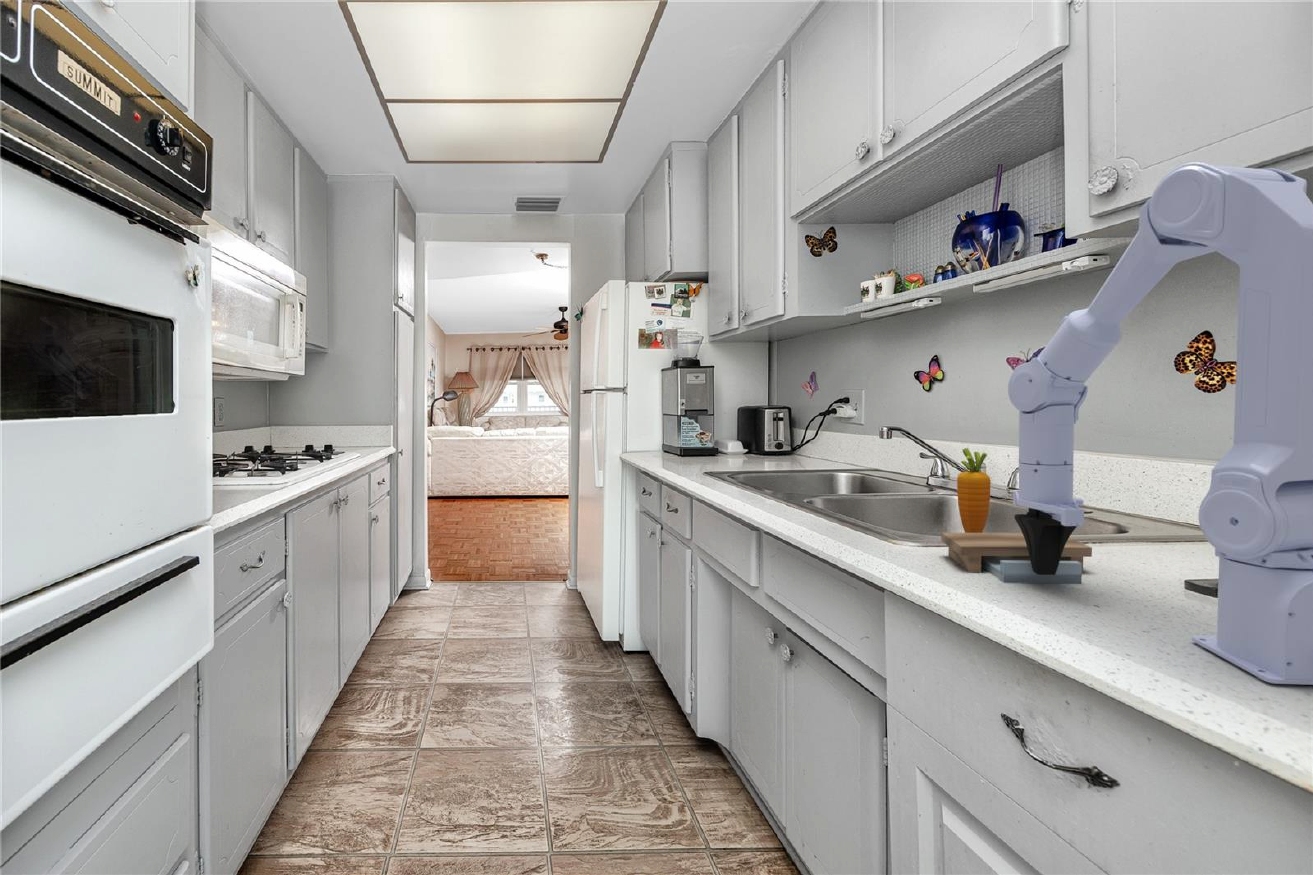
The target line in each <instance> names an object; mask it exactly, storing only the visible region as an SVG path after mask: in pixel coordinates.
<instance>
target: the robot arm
mask: <svg viewBox="0 0 1313 875" xmlns="http://www.w3.org/2000/svg"><path fill="white" fill-rule="evenodd" d="M1307 185H1308V182H1307V180H1306V179H1305V178H1302V177H1299V176H1297V175H1294V174H1292V173H1289V172H1287V171H1284V170H1281V169H1277V168H1273V167H1262V168H1252V167H1242V166H1241V167H1240V166H1225V165H1216V164H1215V165H1213V164H1211V163H1206V162H1198V161H1197V162H1189V163H1185V164H1181V165H1179V166H1178V167H1176V168H1173V169H1172V170H1171V171H1169V172H1168V173H1167V174H1166V175H1165V176H1164V177H1162V179H1161V180H1160V181H1159V182H1158V184H1157V185H1156V187H1155V189H1154V191H1153V192H1152V195H1151V197H1150V198H1149V199H1148V200H1147V201H1146V202H1145V203H1144V204H1143V205H1142V206H1141V208H1140V209H1139V212H1138V230H1137V232H1136V234H1135V236H1134V237H1133V239H1132V241H1131V242H1130V244H1129V245H1128V246H1127V248H1126V250H1125V251H1124V253H1123V254H1122V256H1120V259H1119V261H1117V263H1116V265H1115V266H1114V268H1113V270H1112V271H1111V273H1110V274H1109V275H1108V277H1107V278H1106V280H1105V281H1104V283H1103V285H1102V286H1101V288H1100V289H1099V291H1098V292H1097V294H1096V296H1095V297H1094V299H1093V300H1092V302H1091V303H1090V305H1089V306H1088V307H1086V308H1085V309H1084V308H1083V309H1078V310H1075V311H1072V312H1071V313H1070V314H1068V315H1064V317H1063V319H1062V320H1061V321H1060V323H1059V326H1060V327H1059V328H1058V330H1057V331H1056V332H1055V333H1054V335H1053V336H1052V337H1051V339H1050V340H1049V341H1048V343H1047V344H1046V345H1045V347H1044V348H1043V350H1041V352H1040V353H1039V354H1038V355H1037V357H1032V359H1031V360H1030V361H1029V362H1024V363H1021V364H1018V365H1017V366H1016V367H1015V368H1014V369H1013V371H1012V372H1013V373H1011V376H1010V378H1009V381H1008V386H1007V393H1008V398H1009V400H1010V403H1011V404H1012V406H1014V408H1015V409H1016V410H1019V415H1018V426H1019V427H1018V433H1019V434H1018V490H1012V505H1013V506H1015V507H1022V508H1025V509H1027V510H1028V512H1027V511H1026V513H1021V514H1019V513H1018V514H1014V520H1015V522H1016V524H1017V525H1018V527H1019V529H1020V531H1021V533H1023V536H1024V538H1025V541H1026V545H1027V548H1028V553H1029V557H1030V561H1031V565H1032V569H1033V572H1035V573H1036V574H1038V575H1055V574H1056V571H1057V568H1058V565H1059V562H1060V558H1061V555H1062V552H1063V549H1064V547H1065V544H1066V542H1067V540H1068V539H1069V538H1071V537H1070V536H1072V534H1073V532H1074V531H1075V530H1076V528H1077V527H1084V526H1085V508H1081V506H1084V500H1083V499H1081V498H1079V497H1074V459H1075V458H1074V452H1075V451H1074V450H1075V448H1074V447H1075V437H1074V436H1075V425H1076V423H1077V421H1079V411H1080V408H1081V406H1082V405H1083V403H1084V402H1085V400H1086V398H1087V395H1088V390H1089V386H1088V385H1086V384H1085V383H1086V382H1087V381H1088V380H1089V378H1090V377H1091V376H1092V375H1093V374H1094V372H1096V370H1097V369H1098V367H1100V365H1101V364H1102V363H1103V362H1104V360H1105V359H1106V358H1107V357H1108V356H1109V355H1110V354H1111V352H1112V351H1113V350H1114V349H1115V347H1116V346H1117V345H1118V343H1120V341H1121V340H1122V333H1123V332H1122V328H1121V323H1122V322H1123V320H1124V319H1125V318H1126V317H1127V316H1128V315H1129V314H1130V313H1131V312H1132V310H1134V309H1135V307H1136V306H1137V305H1138V304H1139V303H1140V302H1141V301H1142V300H1143V299H1144V298H1145V297H1146V296H1147V295H1148V294H1149V292H1151V290H1152V289H1153V288H1154V287H1155V286H1157V284H1158V283H1159V282H1160V281H1161V280H1162V279H1163V278H1164V276H1166V275H1167V274H1168V273H1169V271H1171V269H1172V268H1173V267H1174V266H1175V265H1177V263H1180V262H1182V261H1183V262H1184V261H1186V260H1189V259H1193V258H1197V257H1200V256H1203V255H1207V254H1211V253H1215V252H1217V253H1219V254H1220V255H1222V256H1223V257H1226V258H1227V259H1229V260H1230V261H1232V262H1234V263H1235V264H1237V265H1238V266H1239V280H1238V281H1239V285H1238V286H1239V287H1238V310H1237V312H1238V313H1237V315H1238V316H1237V342H1236V364H1235V365H1236V367H1235V391H1234V392H1235V394H1234V395H1235V397H1234V417H1233V418H1234V422H1233V445H1232V446H1231V448H1230V449H1229V450H1228V451H1227V452H1226V454H1225V455H1224V456H1223V457H1222V458H1221V459H1220V460H1219V461H1218V462H1217V463H1216V464H1215V465H1214V467H1213V468H1212V469H1211V475H1210V476H1211V478H1210V480H1211V481H1210V486H1209V490H1208V491H1207V493H1206V494H1205V496H1204V498H1203V499H1202V501H1201V502H1200V506H1199V508H1198V525H1199V527H1200V530H1201V532H1202V534H1203V536H1204V537H1205V539H1206V540H1207V541H1208V542H1209V544H1210V545H1211V546H1212V547H1214V556H1215V557H1218V582H1217V583H1218V585H1217V618H1216V620H1217V621H1216V623H1217V624H1216V636H1214V635H1212V636H1211V635H1193V636H1192V638H1191V640H1192V642H1193V643H1195V644H1197V645H1199V646H1201V647H1202V648H1204V649H1206V650H1208V651H1209V652H1212V653H1213V654H1215V655H1217V656H1219V657H1221V658H1223V659H1224V660H1226V661H1228V662H1230V663H1232V664H1233V665H1234V666H1236V667H1239V668H1241V669H1242V670H1244V671H1245V672H1246V671H1247V672H1248V673H1250V674H1251V675H1254V676H1255V677H1256V678H1259V679H1261V680H1262V681H1264V682H1266V683H1268V684H1269V683H1270V684H1275V685H1277V684H1278V685H1303V686H1304V685H1306V686H1307V685H1308V686H1309V685H1310V686H1313V202H1312V201H1311V199H1309V197H1308V195H1307Z"/></svg>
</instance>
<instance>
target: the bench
mask: <svg viewBox="0 0 1313 875" xmlns="http://www.w3.org/2000/svg"><path fill="white" fill-rule="evenodd" d="M940 537H941V538H940V540H941V542H942V543H944V544H945V545H946V546H948V555H947V556H949V558H950V559H951V560H954V561H955V563H957V564H959V566H961V567H962V568H964V570H966V571H967V572H968V573H982V566H981V556H1029V553H1028V548H1027V545H1026V541H1025V538H1024V536H1023V533H1022V532H982V533H965V532H941V533H940ZM1092 550H1093V547H1092V546H1089V545H1087V544H1085V543H1082V542H1080V541H1078V540H1076V539H1073V538H1071V537H1069V539H1068V540H1067V542H1066V544H1065V547H1064V549H1063V552H1062V555H1061V558H1060V561H1078V562H1080V563H1082V574H1084V558H1087V557H1088V558H1089V557H1090V558H1091V557H1093V556H1092V554H1093V552H1092Z"/></svg>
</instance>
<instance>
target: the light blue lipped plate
mask: <svg viewBox="0 0 1313 875" xmlns="http://www.w3.org/2000/svg"><path fill="white" fill-rule="evenodd" d="M981 568H983V569H985V571H988V572H989V573H990V574H992V575H993V576H994V577H996V578H997V580H1000V581H1001V582H1002V583H1013V584H1014V583H1019V584H1020V583H1021V584H1022V583H1023V584H1025V583H1026V584H1027V583H1028V584H1082V575H1083V573H1082V563H1080V562H1078V561H1060V562H1059V565H1058V568H1057V571H1056V574H1055V575H1038V574H1036V573H1035V572H1033V569H1032V565H1031V561H1030V557H1029V556H981Z"/></svg>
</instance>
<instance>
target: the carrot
mask: <svg viewBox="0 0 1313 875" xmlns="http://www.w3.org/2000/svg"><path fill="white" fill-rule="evenodd" d="M962 453H963V454H964V456H965V458H966V461H965V460H961V461H960V462H961V463H962V465H963V466H965V468H967V470H965V471H962V472H960V473H959V474H958V475H957V478H956V482H957V483H956V487H957V488H956V489H957V506H958V511H959V512H958V513H959V516H960V521H961V525H962V528H963V531H964V533H984V530H985V527H986V525H987V519H988V515H989V510H990V503H991V499H990V498H991V476H989V475H988V474H987V473H986V472H985V471H980V469H981V467H982V465H983V463H984V461H985V459H986V458H987V456H988V453H987V452H985V451H984V452H983V453H980V452H978V451H974V452H973V453H974V454H973V455H972V453H971V451H970V449H969V447H964V448H963V449H962ZM973 456H974V457H973Z"/></svg>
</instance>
